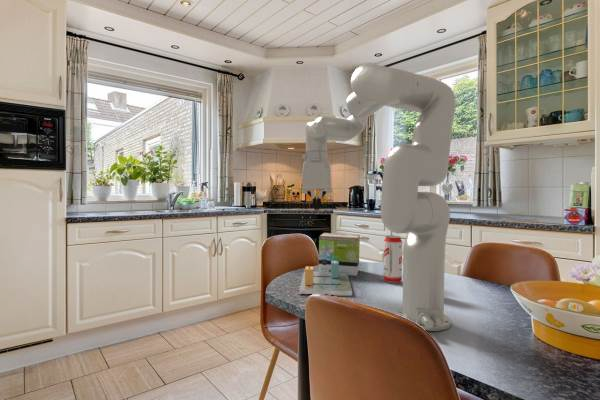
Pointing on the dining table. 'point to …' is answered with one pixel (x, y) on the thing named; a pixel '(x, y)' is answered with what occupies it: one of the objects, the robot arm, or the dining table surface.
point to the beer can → (392, 259)
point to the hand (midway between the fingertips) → (316, 209)
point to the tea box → (339, 252)
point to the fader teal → (334, 269)
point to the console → (327, 284)
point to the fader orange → (309, 275)
